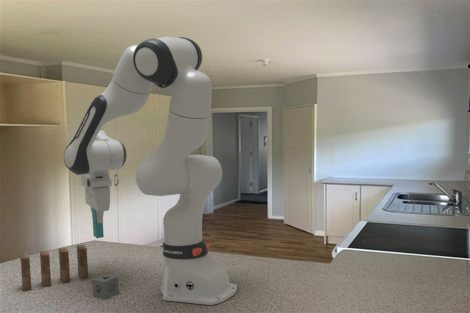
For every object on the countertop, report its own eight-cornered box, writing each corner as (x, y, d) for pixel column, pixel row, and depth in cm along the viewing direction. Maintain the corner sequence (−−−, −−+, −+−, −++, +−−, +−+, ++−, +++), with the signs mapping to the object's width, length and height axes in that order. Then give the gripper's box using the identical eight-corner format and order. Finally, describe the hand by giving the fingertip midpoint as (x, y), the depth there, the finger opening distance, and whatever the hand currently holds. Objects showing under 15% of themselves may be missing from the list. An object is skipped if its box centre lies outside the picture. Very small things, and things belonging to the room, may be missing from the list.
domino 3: (67, 277, 133) (65, 247, 133) (70, 282, 129) (68, 250, 129) (60, 279, 132) (58, 248, 132) (62, 283, 128) (60, 252, 127)
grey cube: (105, 299, 114) (104, 282, 114) (93, 296, 117) (92, 279, 117) (118, 293, 118) (117, 276, 118) (107, 290, 121) (106, 273, 121)
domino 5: (100, 234, 138) (98, 204, 138) (103, 237, 134) (102, 207, 134) (93, 235, 137) (91, 205, 137) (96, 238, 133) (95, 207, 132)
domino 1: (30, 285, 128) (28, 253, 127) (31, 289, 124) (29, 257, 123) (22, 286, 127) (20, 254, 126) (23, 291, 122) (21, 258, 122)
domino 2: (49, 281, 131) (47, 250, 130) (51, 285, 126) (49, 254, 126) (41, 282, 130) (39, 251, 129) (43, 287, 125) (41, 255, 125)
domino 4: (85, 274, 136) (83, 244, 136) (88, 278, 132) (86, 247, 131) (78, 275, 135) (76, 245, 135) (81, 279, 131) (79, 249, 130)
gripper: (79, 177, 142) (81, 217, 143) (91, 183, 124) (94, 227, 125) (98, 176, 145) (100, 214, 146) (112, 181, 128) (115, 225, 128)
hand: (97, 220), depth 135 cm, fingers closed on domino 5, 5 cm apart
